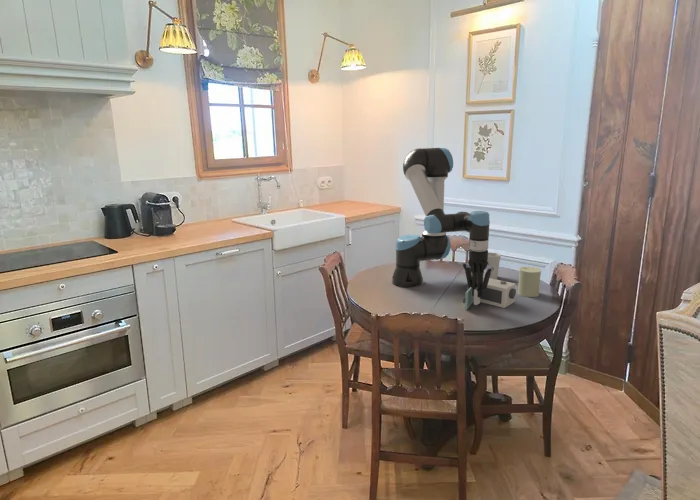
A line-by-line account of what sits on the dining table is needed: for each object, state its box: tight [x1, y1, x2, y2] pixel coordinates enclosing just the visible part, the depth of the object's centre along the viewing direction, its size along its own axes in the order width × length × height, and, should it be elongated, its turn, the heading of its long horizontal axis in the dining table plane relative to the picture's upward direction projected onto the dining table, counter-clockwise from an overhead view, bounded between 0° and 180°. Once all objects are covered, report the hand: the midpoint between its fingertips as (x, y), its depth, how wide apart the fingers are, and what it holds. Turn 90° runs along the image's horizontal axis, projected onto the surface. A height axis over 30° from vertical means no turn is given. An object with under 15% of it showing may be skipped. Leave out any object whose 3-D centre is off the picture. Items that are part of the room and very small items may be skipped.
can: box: [517, 266, 542, 298], centre depth 206 cm, size 9×9×12 cm
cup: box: [484, 252, 501, 280], centre depth 230 cm, size 8×8×12 cm
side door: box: [462, 287, 474, 310], centre depth 195 cm, size 12×2×8 cm, turn 152°
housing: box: [480, 277, 517, 309], centre depth 198 cm, size 15×9×9 cm, turn 46°
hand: (476, 303), depth 192 cm, fingers closed
